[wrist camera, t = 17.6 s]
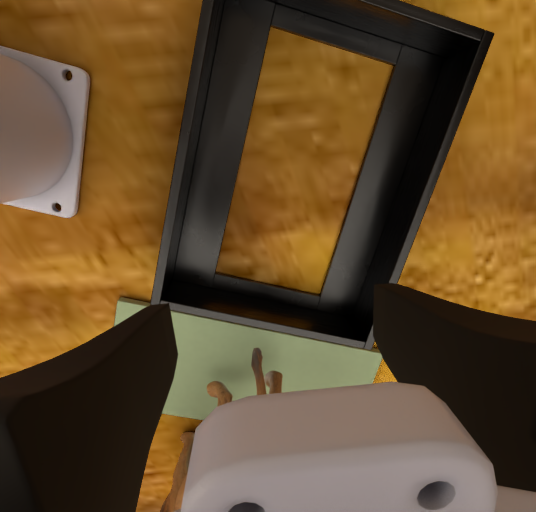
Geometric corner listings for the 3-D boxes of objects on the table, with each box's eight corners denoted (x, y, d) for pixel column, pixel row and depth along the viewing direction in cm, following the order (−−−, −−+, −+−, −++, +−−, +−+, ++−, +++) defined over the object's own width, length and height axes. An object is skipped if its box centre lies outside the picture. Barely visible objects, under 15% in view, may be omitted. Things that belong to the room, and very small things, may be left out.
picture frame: (164, 283, 22) (149, 306, 19) (219, -25, 17) (213, -64, 14) (354, 323, 23) (371, 350, 20) (454, 52, 19) (495, 32, 16)
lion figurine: (234, 473, 28) (221, 634, 20) (169, 462, 27) (130, 625, 19) (296, 349, 21) (313, 524, 13) (211, 329, 20) (174, 502, 12)
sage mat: (105, 398, 24) (102, 404, 24) (120, 296, 22) (117, 300, 21) (345, 437, 26) (348, 444, 26) (381, 349, 24) (384, 354, 24)
